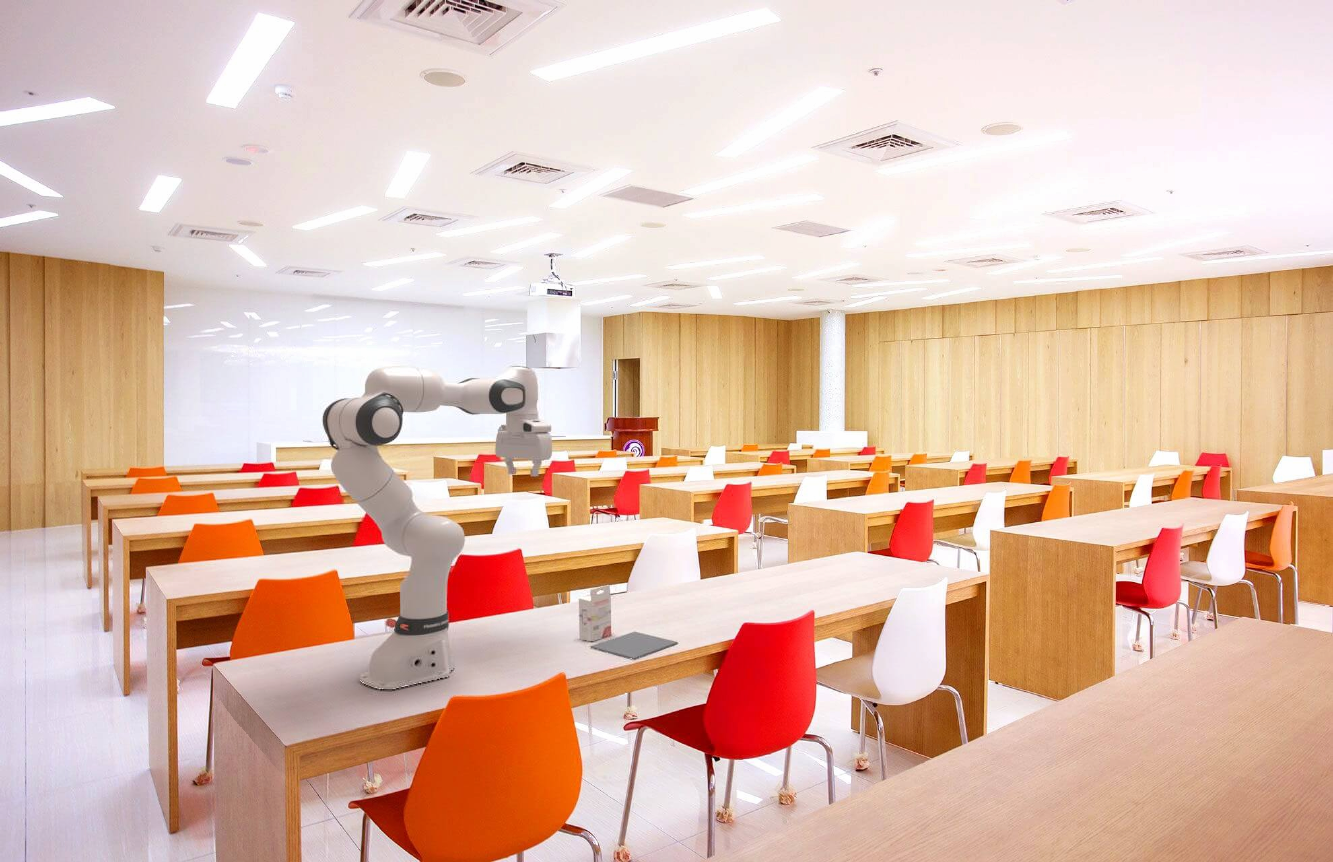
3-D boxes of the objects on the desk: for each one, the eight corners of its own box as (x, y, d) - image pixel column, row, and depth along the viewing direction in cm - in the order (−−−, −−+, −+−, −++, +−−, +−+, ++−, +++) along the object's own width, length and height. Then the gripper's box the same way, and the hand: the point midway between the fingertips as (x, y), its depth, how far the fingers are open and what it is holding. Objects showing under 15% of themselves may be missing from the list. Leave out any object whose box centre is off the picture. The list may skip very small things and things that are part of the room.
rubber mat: (634, 659, 210) (634, 658, 210) (590, 648, 220) (590, 646, 220) (677, 643, 224) (677, 642, 224) (634, 633, 234) (634, 631, 234)
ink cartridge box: (598, 632, 235) (598, 581, 235) (611, 635, 232) (611, 584, 232) (578, 639, 228) (577, 587, 228) (591, 642, 225) (591, 589, 225)
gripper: (489, 424, 229) (490, 473, 229) (537, 426, 216) (538, 478, 216) (507, 424, 234) (507, 472, 234) (555, 425, 221) (556, 476, 221)
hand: (523, 475), depth 225 cm, fingers open, 8 cm apart
